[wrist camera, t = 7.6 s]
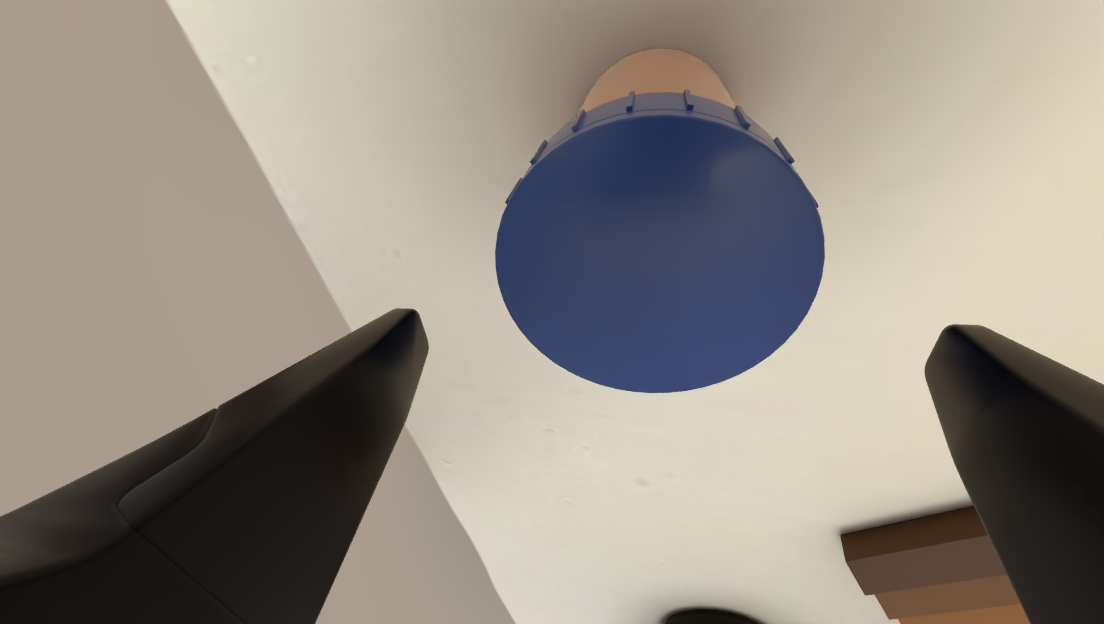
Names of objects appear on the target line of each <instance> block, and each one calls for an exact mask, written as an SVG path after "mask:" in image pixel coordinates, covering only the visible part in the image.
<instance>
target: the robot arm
mask: <svg viewBox="0 0 1104 624" xmlns="http://www.w3.org/2000/svg"><path fill="white" fill-rule="evenodd" d="M428 349H429V345H428V339H427V336H426V333H425V330H424V327H423V324H422V321H421V318H420V315H419V313H418V312H417V311H416V310H414V309H401V308H397V309H394V310H392V311H390V312H388V313H386V314H384V315H383V316H381V317H379V318H377V319H375V320H373V321H372V322H370V323H368V324H366V325H364V326H363V327H361V328H359V329H357V330H355V331H354V332H352V333H350V334H348V335H347V336H345V337H343V338H341V339H339V340H337V341H335V342H334V343H332V344H330V345H328V346H327V347H325V348H323V349H321V350H319V351H317V352H316V353H314V354H312V355H310V356H308V357H307V358H305V359H303V360H301V361H299V362H298V363H296V364H294V365H292V366H290V367H288V368H287V369H285V370H283V371H281V372H279V373H278V374H276V375H274V376H272V377H271V378H269V379H267V380H265V381H263V382H261V383H260V384H258V385H256V386H255V387H252V388H251V389H249V390H247V391H245V392H243V393H241V394H240V395H238V396H236V397H234V398H232V399H231V400H229V401H227V402H225V403H223V404H222V405H220V406H219V407H218V409H212V410H210V411H209V412H207V413H205V414H203V415H202V416H200V417H198V418H196V419H194V420H192V421H191V422H189V423H187V424H185V425H183V426H181V427H179V428H177V429H176V430H174V431H172V432H170V433H168V434H166V435H164V436H163V437H161V438H159V439H157V440H155V441H153V442H151V443H149V444H147V445H145V446H143V447H141V448H140V449H137V450H135V451H133V452H131V453H129V454H127V455H125V456H124V457H122V458H120V459H117V460H116V461H113V462H112V463H110V464H107V465H105V466H103V467H101V468H99V469H97V470H95V471H93V472H92V473H89V474H87V475H85V476H83V477H81V478H79V479H77V480H75V481H73V482H71V483H69V484H67V485H65V486H63V487H61V488H59V489H57V490H55V491H53V492H51V493H49V494H47V495H45V496H42V497H40V498H38V499H37V500H34V501H32V502H30V503H28V504H26V505H24V506H22V507H20V508H18V509H16V510H14V511H12V512H9V513H8V514H5V515H3V516H1V517H0V624H315V623H316V620H317V618H318V616H319V614H320V611H321V609H322V607H323V605H324V603H325V600H326V598H327V596H328V594H329V591H330V589H331V587H332V584H333V582H334V580H335V578H336V576H337V574H338V571H339V569H340V567H341V565H342V562H343V560H344V558H345V556H346V553H347V551H348V549H349V546H350V544H351V542H352V540H353V537H354V535H355V533H356V531H357V529H358V527H359V524H360V522H361V520H362V518H363V515H364V513H365V511H366V508H367V506H368V504H369V502H370V500H371V497H372V495H373V493H374V491H375V489H376V486H377V484H378V482H379V480H380V477H381V475H382V473H383V471H384V468H385V466H386V464H387V461H388V459H389V457H390V455H391V453H392V451H393V448H394V446H395V444H396V442H397V439H398V437H399V435H400V433H401V430H402V428H403V426H404V423H405V421H406V419H407V416H408V413H409V410H410V407H411V404H412V401H413V398H414V395H415V392H416V389H417V385H418V382H419V379H420V376H421V373H422V370H423V367H424V364H425V360H426V357H427V354H428ZM925 378H926V381H927V384H928V387H929V390H930V393H931V396H932V399H933V402H934V405H935V408H936V411H937V414H938V417H939V420H940V423H941V426H942V429H943V432H944V435H945V438H946V441H947V444H948V447H949V450H950V453H951V456H952V458H953V461H954V463H955V466H956V468H957V470H958V472H959V475H960V477H961V479H962V481H963V483H964V485H965V488H966V490H967V492H968V494H969V496H970V498H971V500H972V502H973V504H974V507H975V509H976V511H977V513H978V515H979V517H980V519H981V521H982V523H983V525H984V528H985V530H986V532H987V534H988V536H989V538H990V540H991V542H992V544H993V547H994V549H995V551H996V553H997V555H998V557H999V559H1000V561H1001V563H1002V565H1003V568H1004V570H1005V572H1006V574H1007V576H1008V578H1009V580H1010V582H1011V584H1012V587H1013V589H1014V591H1015V593H1016V595H1017V597H1018V599H1019V601H1020V603H1021V605H1022V608H1023V610H1024V612H1025V614H1026V616H1027V618H1028V620H1029V622H1030V624H1104V385H1103V384H1101V383H1099V382H1097V381H1095V380H1093V379H1091V378H1089V377H1087V376H1085V375H1083V374H1081V373H1079V372H1076V371H1074V370H1072V369H1070V368H1068V367H1066V366H1064V365H1062V364H1060V363H1058V362H1056V361H1054V360H1052V359H1050V358H1048V357H1046V356H1044V355H1041V354H1039V353H1037V352H1035V351H1033V350H1031V349H1029V348H1027V347H1025V346H1023V345H1021V344H1019V343H1017V342H1015V341H1013V340H1011V339H1009V338H1006V337H1004V336H1002V335H1000V334H998V333H996V332H994V331H992V330H990V329H988V328H986V327H983V326H980V325H958V324H953V325H949V326H947V327H946V328H944V329H943V331H942V332H941V334H940V336H939V338H938V340H937V342H936V344H935V346H934V348H933V350H932V352H931V354H930V356H929V358H928V360H927V362H926V365H925Z"/></svg>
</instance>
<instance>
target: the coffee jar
mask: <svg viewBox="0 0 1104 624" xmlns="http://www.w3.org/2000/svg"><path fill="white" fill-rule="evenodd" d="M665 624H758V623H756V622H754V621H752V620H750V619H748V618H745V617H742V616H739V615H736V614H732V613H727V612H721V611H715V610H693V611H685V612H681V613H678V614H675V615H672V616H671V617H670V618H669V619H668V620H667V621H666V623H665Z"/></svg>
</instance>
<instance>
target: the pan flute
mask: <svg viewBox="0 0 1104 624" xmlns="http://www.w3.org/2000/svg"><path fill="white" fill-rule="evenodd" d="M841 541H842V546H843V551H844V556H845V560H846V563H847V565H848V567H849V568H850V570H851V572H852V573H853V575H854V577H855V579H856V580H857V582H858V584H859V586H860V587H861V589H862V591H863V593H864V594H865V595H872V594H875V596H876V598H877V599H878V601H879V603H880V604H881V606H882V608H883V610H884V611H885V613H886V615H887V616H888V618H889V620H890V619H899V621H900V623H901V624H1030V622H1029V620H1028V618H1027V616H1026V614H1025V612H1024V610H1023V608H1022V605H1021V603H1020V601H1019V599H1018V597H1017V595H1016V593H1015V591H1014V589H1013V587H1012V584H1011V582H1010V580H1009V578H1008V576H1007V574H1006V572H1005V570H1004V568H1003V565H1002V563H1001V561H1000V559H999V557H998V555H997V553H996V551H995V549H994V547H993V544H992V542H991V540H990V538H989V536H988V534H987V532H986V530H985V528H984V525H983V523H982V521H981V519H980V517H979V515H978V513H977V511H976V509H975V507H970V508H966V509H961V510H956V511H952V512H947V513H942V514H938V515H933V516H929V517H924V518H919V519H915V520H910V521H905V522H901V523H896V524H892V525H887V526H882V527H878V528H873V529H868V530H864V531H859V532H854V533H850V534H845V535H841Z"/></svg>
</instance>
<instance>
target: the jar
mask: <svg viewBox="0 0 1104 624" xmlns="http://www.w3.org/2000/svg"><path fill="white" fill-rule="evenodd" d="M685 89H686V90H690V93H691V94H692V95H696V96H700V97H704V98H708V99H712V100H715V101H717V102H719V103H722V104H724V105H727V106H729V107H732V108H733V109H734V108H735V107H736V104H735V103H734V101H733V99H732V98H731V96H730V94H729V92H728V91H727V89H726V87H725V86H724V84H723V82H722V81H721V79H720V78H719V76H718V75H717V74H716V73H715V71H714V70H713V69H712V68H711V67H710V66H708V65H707V64H706V63H705V62H704V61H702V60H700V59H699V58H697V57H695V56H694V55H691V54H689V53H686V52H683V51H679V50H675V49H666V48H658V49H649V50H644V51H640V52H637V53H634V54H631V55H629V56H627V57H625V58H623V59H621V60H620V61H618V62H617V63H615V64H614V65H612V66H611V67H610V68H609V69H608V70H607V71H605V72H604V73H603V74H602V75H601V77H600V78H599V79H598V80H597V81H596V82H595V84H594V85H593V87H592V88H591V90H590V92H589V93H588V95H587V97H586V99H585V101H584V103H583V105H582V106H581V108H580V110H579V112H580V111H581V110H583V109H584V110H585V112H587V111H589V110H591V109H593V108H595V107H597V106H599V105H601V104H604V103H607V102H610V101H613V100H616V99H619V98H622V97H626V96H629V92H631V91H635V95H637V94H643V93H656V92H673V93H684V90H685ZM579 112H578V114H579ZM578 114H577V116H578ZM577 116H576V118H577ZM576 118H575V119H576Z"/></svg>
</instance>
